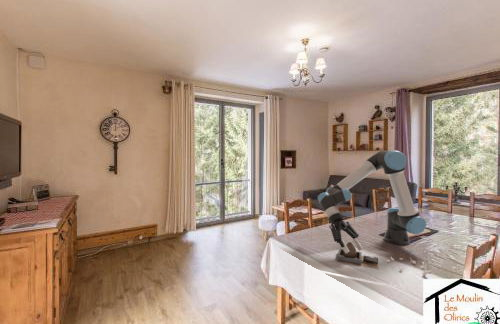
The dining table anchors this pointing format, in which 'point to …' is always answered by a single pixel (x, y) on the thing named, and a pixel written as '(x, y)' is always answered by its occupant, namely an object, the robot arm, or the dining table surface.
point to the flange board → (363, 263)
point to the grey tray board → (356, 261)
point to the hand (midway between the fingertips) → (354, 251)
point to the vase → (350, 251)
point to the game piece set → (413, 263)
